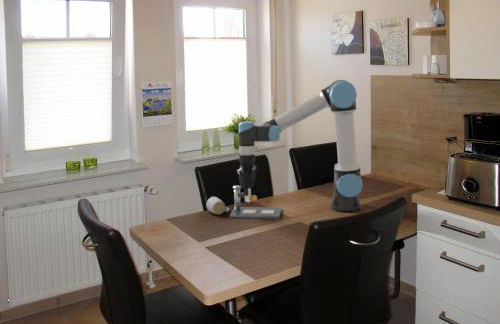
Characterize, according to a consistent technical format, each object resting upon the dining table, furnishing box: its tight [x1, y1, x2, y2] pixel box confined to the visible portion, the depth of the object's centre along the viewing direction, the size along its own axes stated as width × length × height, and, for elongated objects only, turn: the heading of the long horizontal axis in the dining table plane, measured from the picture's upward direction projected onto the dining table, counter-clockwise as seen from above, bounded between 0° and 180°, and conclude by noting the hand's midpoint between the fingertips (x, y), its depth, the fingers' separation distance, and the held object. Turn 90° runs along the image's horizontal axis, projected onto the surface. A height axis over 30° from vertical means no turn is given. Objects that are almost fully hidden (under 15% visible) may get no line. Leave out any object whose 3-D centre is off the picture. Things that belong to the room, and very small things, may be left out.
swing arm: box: [239, 191, 258, 202], centre depth 255 cm, size 11×3×2 cm, turn 43°
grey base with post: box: [229, 184, 283, 220], centre depth 256 cm, size 24×14×13 cm, turn 82°
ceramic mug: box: [205, 196, 230, 216], centre depth 260 cm, size 11×8×8 cm
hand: (247, 201), depth 253 cm, fingers closed
